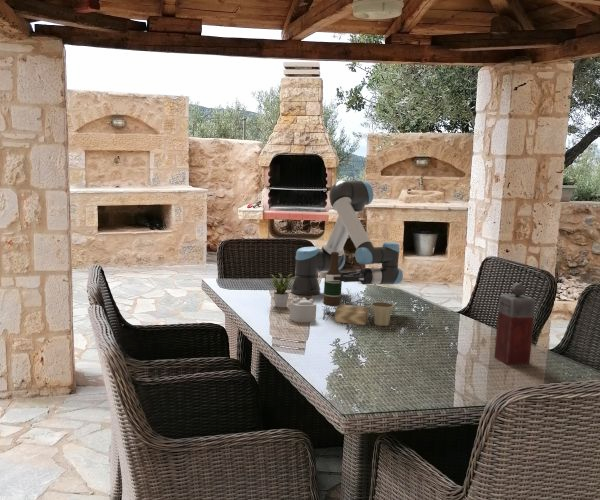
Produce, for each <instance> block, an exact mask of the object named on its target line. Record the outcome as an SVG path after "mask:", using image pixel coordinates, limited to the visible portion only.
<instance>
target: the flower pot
mask: <svg viewBox="0 0 600 500" xmlns="http://www.w3.org/2000/svg"><path fill="white" fill-rule="evenodd" d="M371 306H372V307H371V308H372V311H373V324H374V325H375V326H380V327H382V326H385V327H387V326H389V325H390V319H391V315H392V311H393V309H394V307H395V304H393V303H391V302H390V303H389V302H383V301H382V302H381V301H379V302H377V301H376V302H375V301H374V302H372V303H371Z"/></svg>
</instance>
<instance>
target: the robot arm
mask: <svg viewBox="0 0 600 500" xmlns="http://www.w3.org/2000/svg"><path fill="white" fill-rule="evenodd" d="M331 186H332V187H331V188H330V191H329V194H328V197H329V203H330V205H331V207H332V209H333V211H336V213H337V214H338V216H337V219H336V221H335V223H334V226H333V229H332V231H331V233H330V236H329V238H328V240H327V241H326V242H325V243H323V245H322V247H321V249H319V247H318V246H304V247H303V246H302V247H300V248H298V249H297V250H296V253H295V267H294V269H295V270H294V272H295V273H294V278H293V282H292V283H291V286H293V287H290V288H291V289H290V293H292V294H295V295H300V296H301V295H302V296H315V295H319V294H321V286H320V283H319V280H318V274H319V278H320V279H325V276H326V281H340V280H341V281H342V283H357V282H360V284H361V285H374V286H377V285H398V284H401V283H402V281H403V279H404V275H403V270H402V268H400V267H399V256H400V244H399V243H398V242H394V241H384V242H383V244H382V246H374V245H373V242H372V241H371V239H370V238H369V235H368V233H367V231H366V230H365V227H364V226H363V224H362V222H361V221H360V219H359V217H358V214H359V213H360V212H361V213H362V212H363V211H364V208H365V206H368V205H370V204H372V202H373V200H374V189H373V187H372V185H371V184H370V183H369V182H368V181H365V180H364V181H363V180H346V179H345V180H338V181H336V182H335V183H333V185H331ZM348 238H350V240H351V242H352V243H353V245H354V247H355V249H356V250H355V253H354V257H355V261H356V262H357V263H358V264H359V265H374V264H381V267H362V268H361V269H360V270H359V272H358V271H357V270H356V271H355V270H354V271H353V270H342V269H343V268H344V266H345V263H346V254H345V253H346V252H345V250H344V247H345V244H346V242H347V240H348ZM331 252H338V253H339V255H338V269H339V272H340V273H341V277H340V275H326V273H327V272H328V271H329V268H330V261H331ZM297 276H298V277H297ZM292 289H293V290H292Z"/></svg>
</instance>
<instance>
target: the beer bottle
mask: <svg viewBox="0 0 600 500" xmlns="http://www.w3.org/2000/svg"><path fill="white" fill-rule="evenodd" d="M338 255H339V253H338V252H331V261H330V268H329V271H326V272H327V273H326V275H340V277H341V273H340V272H339V271H340V270H339V269H338ZM323 283H324V286H323V300H322V301H323V303H322V304H323V305H324V306H327V307H338V306H339V305H340V304H341V302H342V301H341V299H342V285H343V281H341V280H340V281H326V276H325V278H324V282H323Z"/></svg>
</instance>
